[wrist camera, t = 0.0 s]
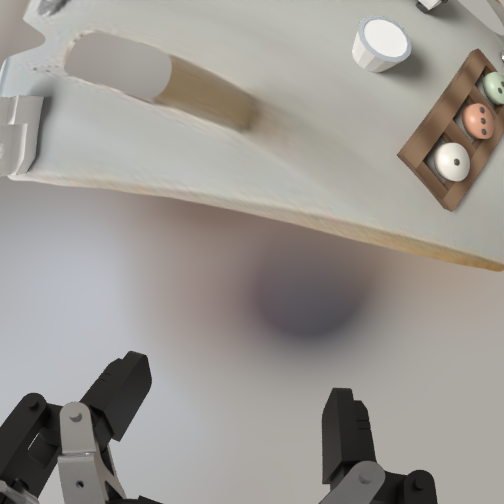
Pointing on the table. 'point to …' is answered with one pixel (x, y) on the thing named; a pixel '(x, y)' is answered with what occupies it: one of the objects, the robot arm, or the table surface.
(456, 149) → the button one
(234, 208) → the table surface
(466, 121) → the button three
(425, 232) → the table surface
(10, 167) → the tape dispenser
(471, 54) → the button board
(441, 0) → the giant panda
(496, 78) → the button two
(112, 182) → the table surface
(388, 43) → the white tapered cylinder
